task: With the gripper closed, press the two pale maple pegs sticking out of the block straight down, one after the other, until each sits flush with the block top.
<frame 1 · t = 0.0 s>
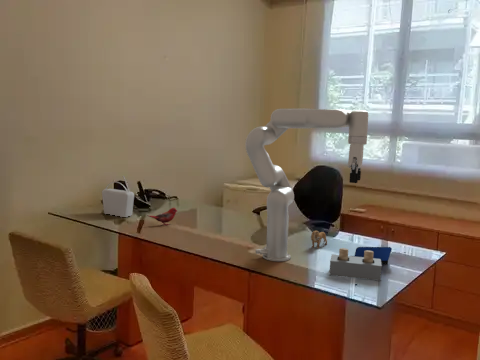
hand: (354, 181, 204), 37 cm above the table, tool pointing down, fingers open, 9 cm apart
decorative bird figurine: (162, 225, 277), on the table
peg 2: (368, 258, 198), point 7 cm above the table, slide at 0.0 cm
peg 1: (343, 256, 201), point 7 cm above the table, slide at 0.0 cm
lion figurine: (318, 247, 241), on the table
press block: (354, 274, 200), on the table
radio: (118, 215, 301), on the table
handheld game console: (368, 263, 217), on the table
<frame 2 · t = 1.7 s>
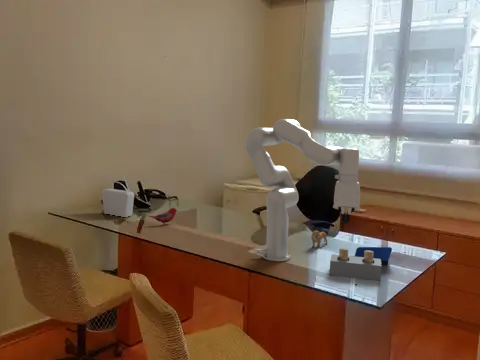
hand: (345, 223, 199), 21 cm above the table, tool pointing down, fingers closed
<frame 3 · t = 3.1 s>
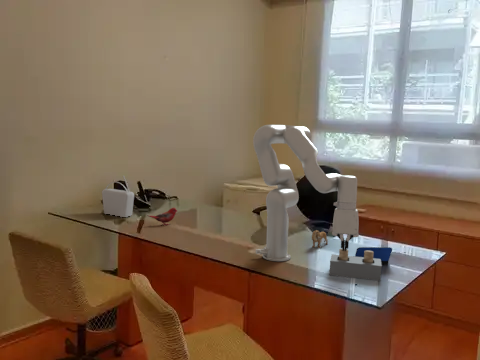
hand: (344, 249, 200), 10 cm above the table, tool pointing down, fingers closed
peg 1: (343, 256, 201), point 7 cm above the table, slide at 0.3 cm, touching gripper
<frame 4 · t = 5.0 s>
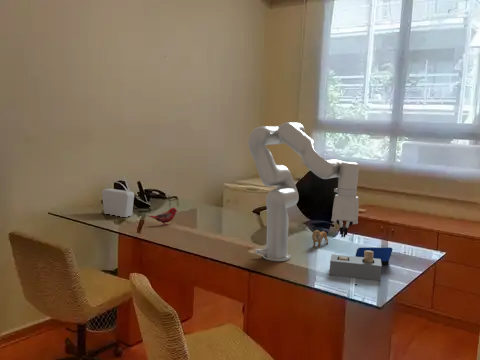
hand: (343, 236, 200), 15 cm above the table, tool pointing down, fingers closed
peg 1: (342, 265, 201), point 3 cm above the table, slide at 3.8 cm
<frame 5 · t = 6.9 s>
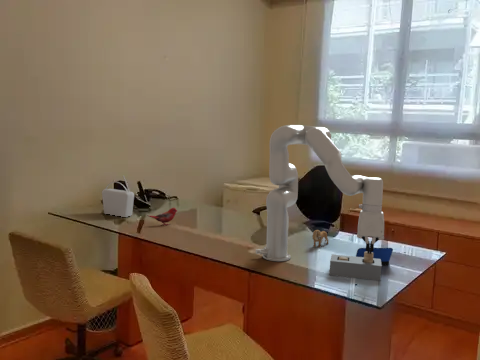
hand: (369, 252, 198), 10 cm above the table, tool pointing down, fingers closed
peg 2: (368, 259, 198), point 7 cm above the table, slide at 0.5 cm, touching gripper
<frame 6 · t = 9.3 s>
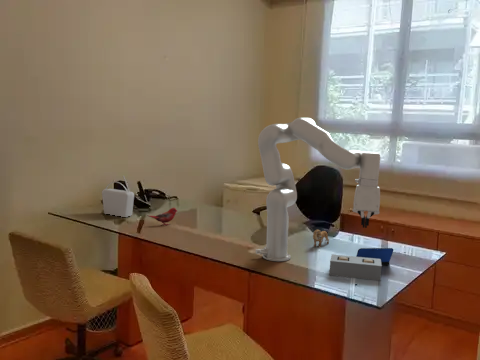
hand: (364, 227, 199), 20 cm above the table, tool pointing down, fingers closed
peg 2: (367, 267, 199), point 3 cm above the table, slide at 3.8 cm
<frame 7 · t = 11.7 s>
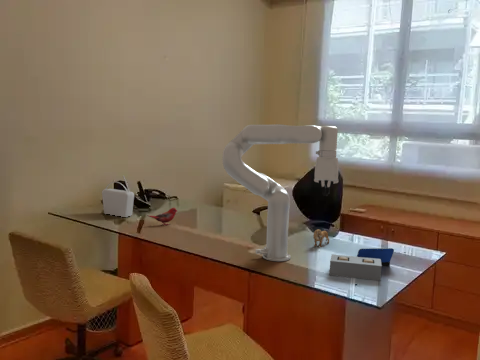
hand: (325, 195, 217), 29 cm above the table, tool pointing down, fingers closed
at the end: peg 1 slide at 3.8 cm; peg 2 slide at 3.8 cm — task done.
